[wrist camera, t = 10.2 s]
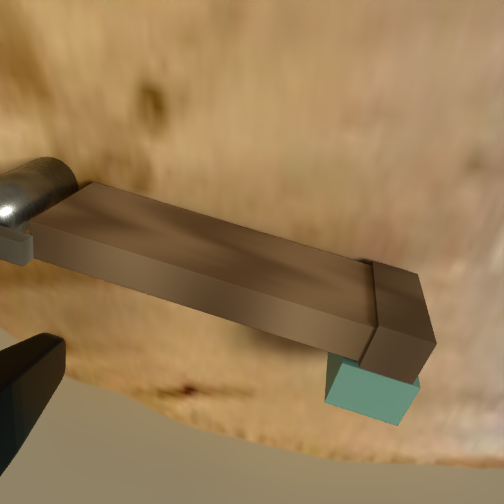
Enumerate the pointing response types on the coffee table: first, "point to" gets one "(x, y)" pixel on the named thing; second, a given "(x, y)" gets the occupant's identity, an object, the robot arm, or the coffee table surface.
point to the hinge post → (33, 191)
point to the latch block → (367, 390)
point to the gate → (236, 276)
